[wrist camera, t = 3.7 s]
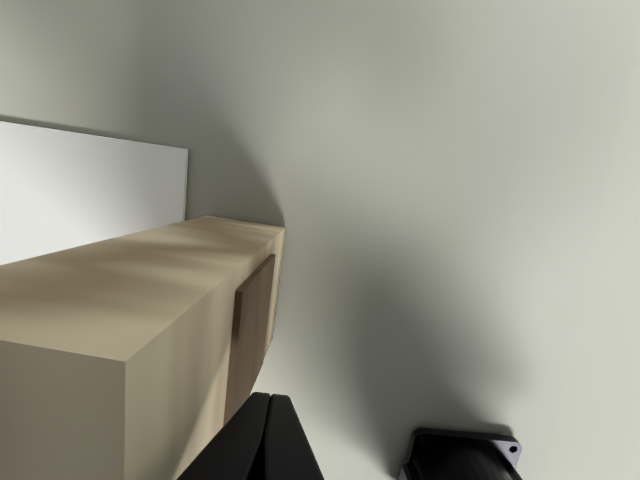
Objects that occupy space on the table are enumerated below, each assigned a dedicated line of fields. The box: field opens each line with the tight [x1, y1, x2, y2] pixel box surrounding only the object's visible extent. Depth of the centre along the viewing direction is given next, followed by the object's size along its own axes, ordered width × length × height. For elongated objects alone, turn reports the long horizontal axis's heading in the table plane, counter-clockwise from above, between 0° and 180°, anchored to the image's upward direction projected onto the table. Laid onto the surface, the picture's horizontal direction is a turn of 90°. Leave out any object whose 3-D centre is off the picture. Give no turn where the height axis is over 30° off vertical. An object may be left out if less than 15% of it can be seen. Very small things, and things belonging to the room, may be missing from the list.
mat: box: [0, 121, 189, 265], centre depth 14 cm, size 12×12×1 cm
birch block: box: [0, 215, 286, 480], centre depth 10 cm, size 4×6×11 cm
